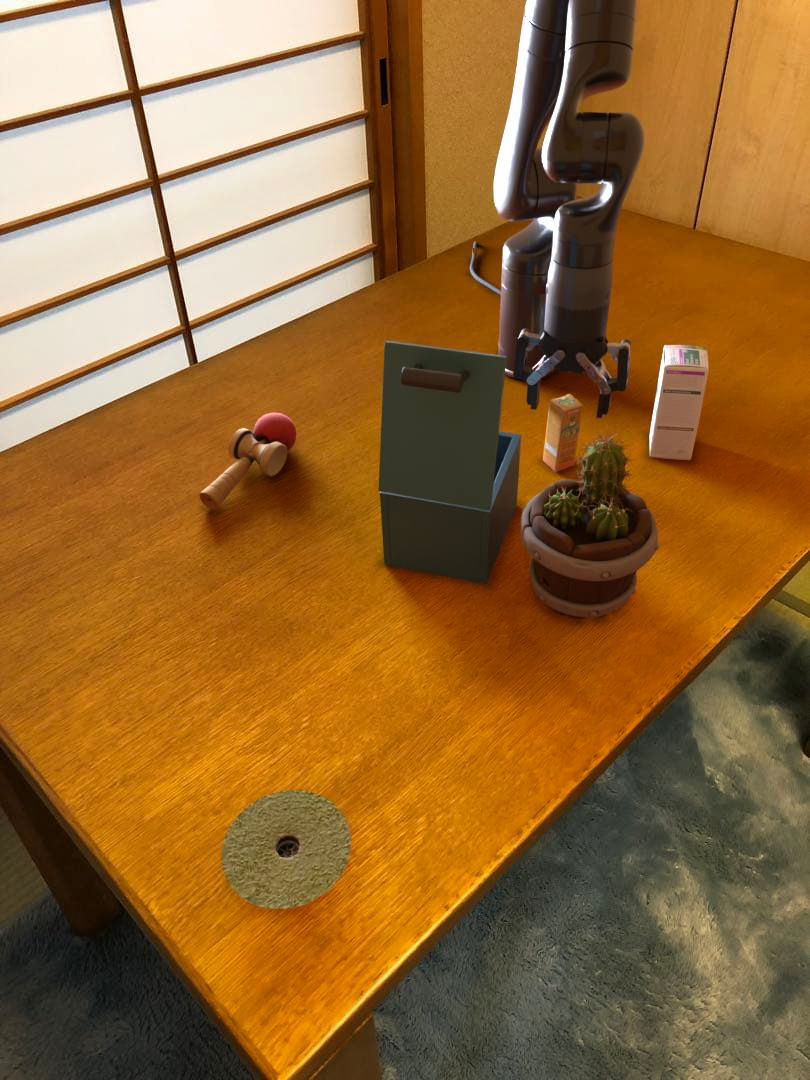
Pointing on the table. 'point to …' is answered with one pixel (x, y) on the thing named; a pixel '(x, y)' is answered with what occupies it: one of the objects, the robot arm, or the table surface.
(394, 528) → the bin
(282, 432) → the kendama
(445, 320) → the table surface
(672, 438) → the syrup box
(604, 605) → the flowerpot
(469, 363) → the lid
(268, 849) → the mat
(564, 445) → the supplement box
